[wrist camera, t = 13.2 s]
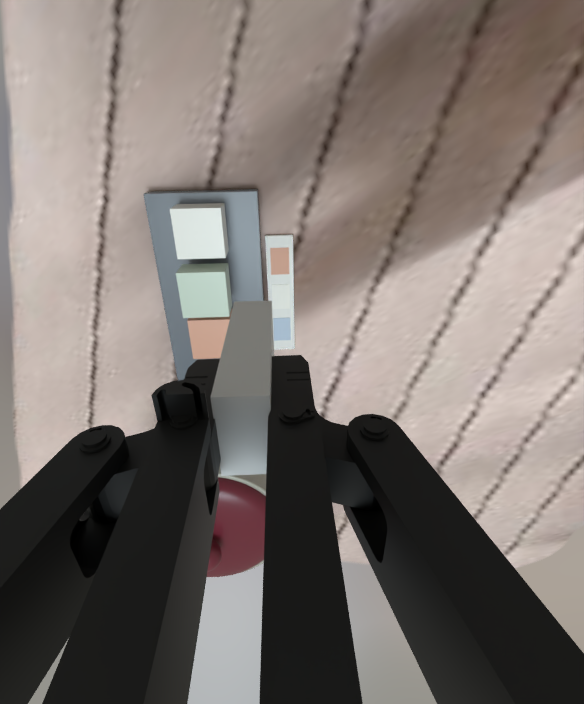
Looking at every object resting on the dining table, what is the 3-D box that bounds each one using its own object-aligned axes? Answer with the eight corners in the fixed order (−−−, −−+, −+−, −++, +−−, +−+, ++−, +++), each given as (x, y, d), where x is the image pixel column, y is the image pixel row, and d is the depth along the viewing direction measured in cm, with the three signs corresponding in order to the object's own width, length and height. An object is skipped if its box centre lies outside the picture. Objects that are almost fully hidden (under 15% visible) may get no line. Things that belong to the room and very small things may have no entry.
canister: (298, 400, 57) (308, 524, 39) (268, 486, 66) (266, 622, 47) (173, 375, 55) (121, 496, 36) (159, 468, 63) (110, 605, 44)
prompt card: (265, 235, 46) (265, 236, 45) (292, 234, 46) (292, 235, 45) (270, 348, 53) (270, 350, 53) (294, 347, 53) (294, 349, 53)
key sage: (182, 264, 43) (175, 273, 40) (228, 263, 43) (224, 271, 40) (188, 306, 45) (183, 318, 42) (232, 305, 45) (229, 316, 43)
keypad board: (148, 191, 43) (137, 196, 39) (257, 189, 43) (256, 194, 40) (182, 382, 55) (176, 399, 51) (268, 379, 55) (267, 396, 52)
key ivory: (176, 204, 41) (169, 208, 39) (224, 203, 41) (220, 207, 39) (183, 251, 44) (177, 259, 41) (228, 250, 44) (225, 258, 41)
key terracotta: (192, 309, 47) (187, 320, 44) (234, 308, 47) (231, 319, 44) (197, 346, 49) (193, 359, 47) (237, 345, 50) (235, 357, 47)
